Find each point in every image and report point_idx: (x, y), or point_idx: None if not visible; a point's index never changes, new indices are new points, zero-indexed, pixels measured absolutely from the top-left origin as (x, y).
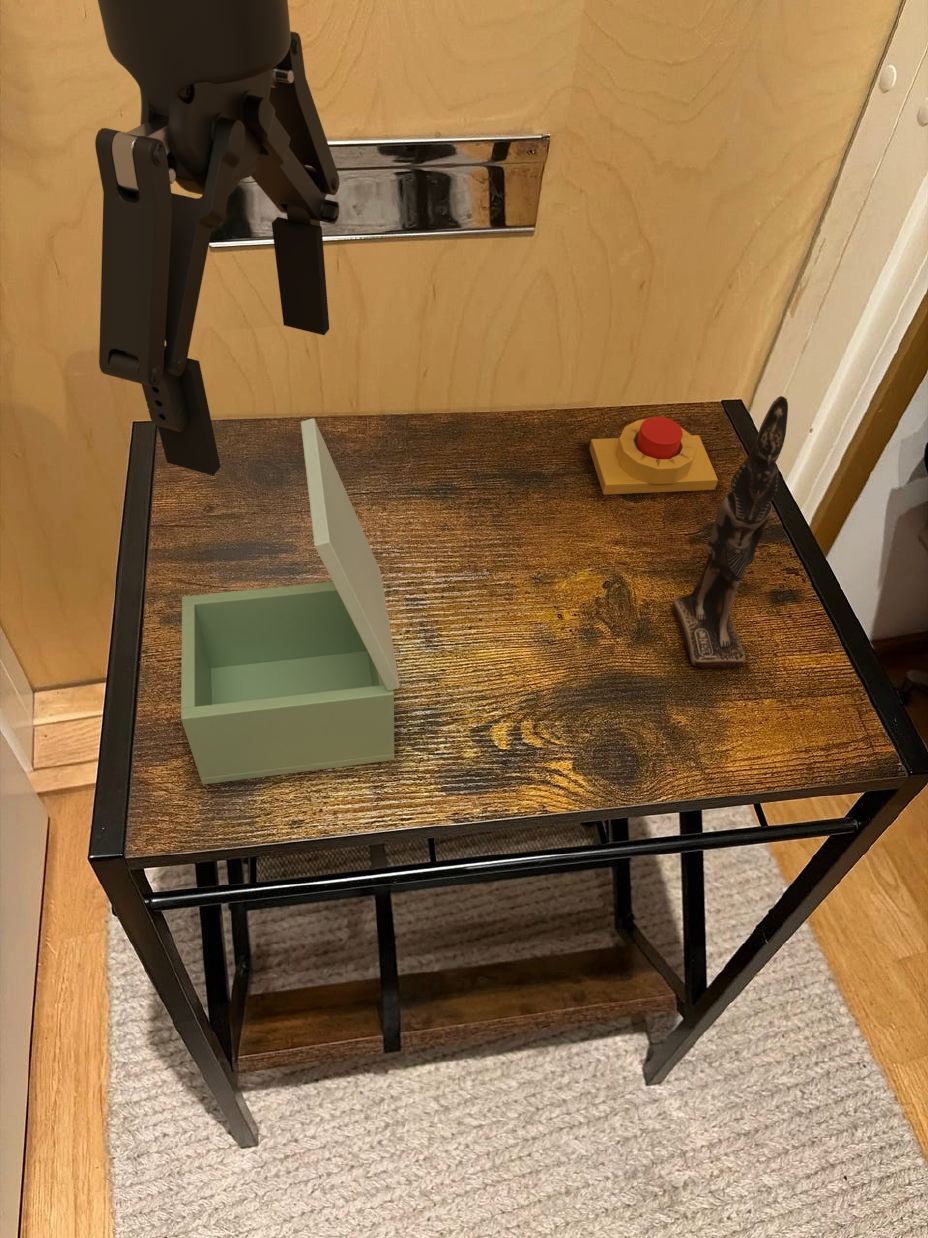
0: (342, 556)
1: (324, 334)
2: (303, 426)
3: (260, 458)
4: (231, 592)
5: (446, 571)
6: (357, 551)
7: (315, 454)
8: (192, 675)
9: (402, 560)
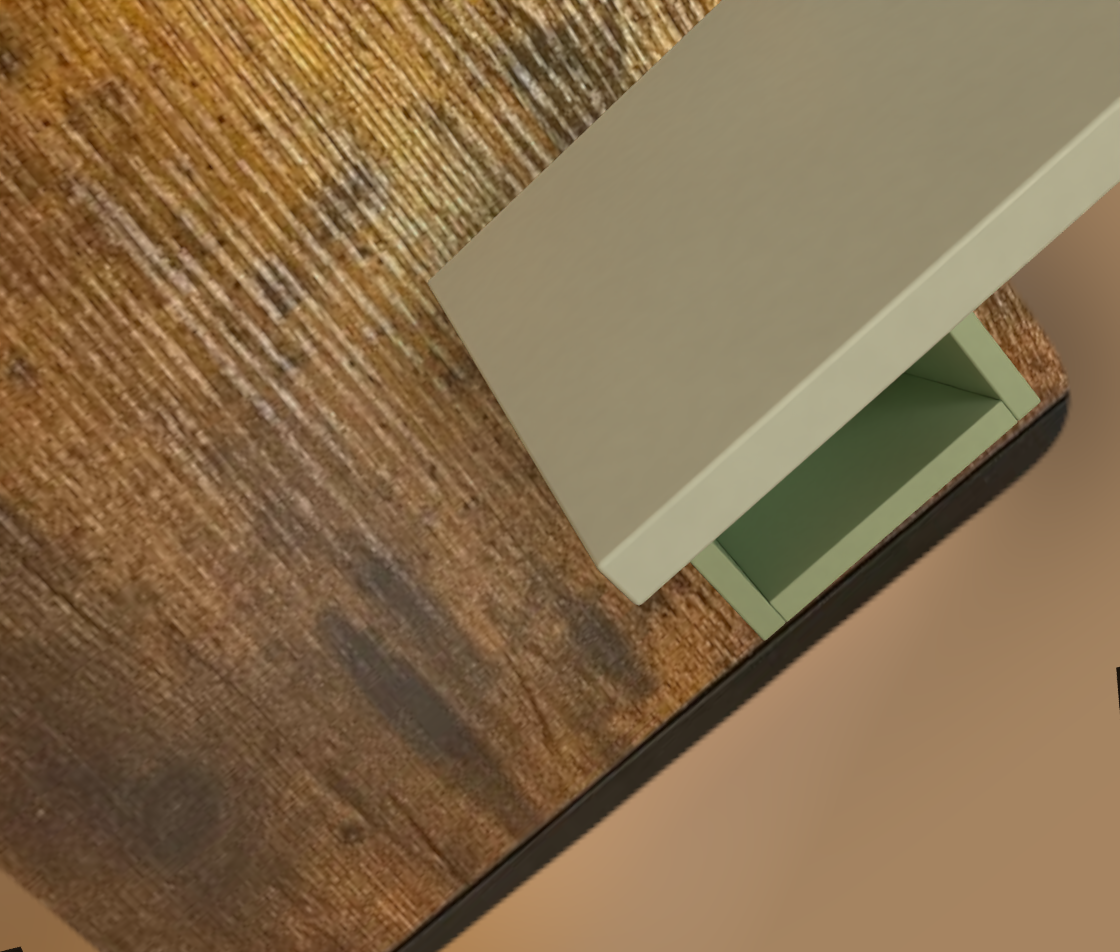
0: (1047, 13)
1: (16, 949)
2: (664, 572)
3: (149, 860)
4: (693, 559)
5: (145, 281)
6: (673, 195)
7: (818, 387)
8: (935, 463)
9: (189, 393)
